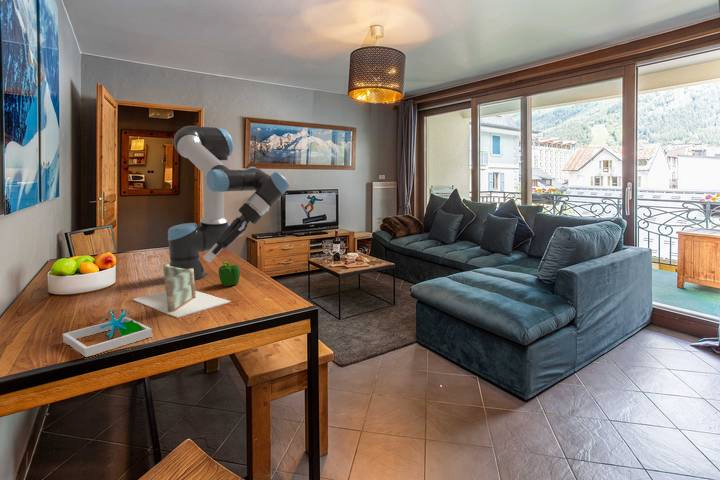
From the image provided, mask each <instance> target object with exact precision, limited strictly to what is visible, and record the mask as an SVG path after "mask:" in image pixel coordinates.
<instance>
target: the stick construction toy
mask: <svg viewBox="0 0 720 480" xmlns="http://www.w3.org/2000/svg"><path fill="white" fill-rule="evenodd" d="M120 311H121V314H120V316H119V318H117V319H118V320H116V317H115V315H114V313H115V312H114V311H112V310H111V311H110V315H111V319H110V318H105V320H106V321H107V322H111V323H110V324H107V325H103V326H100V328H104V327H108V326H113V327H112V330H111V331H108V332H107V334H104V337H109V339H110V338H113V335H114V332H115V330H117V328H118V331H119V334H120V337H122V336H125V335H129V334H132V333H135V332H139V331H141V326H140V325H139V324H138V323H135V322H134V321H135V320H134V319H132V320H131V321H127V322H122V323H121V321H122V318H124V317H126V316H127V315H130V312H128V311H126V312H125V310H124V309H121V310H120ZM133 320H134V321H133ZM108 335H109V336H108Z"/></svg>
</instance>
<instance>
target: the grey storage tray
mask: <svg viewBox="0 0 720 480" xmlns="http://www.w3.org/2000/svg"><path fill="white" fill-rule="evenodd" d="M115 319H116V318H115ZM118 319H119V318H117V319H116V320H118ZM131 320H133V321H134V322H135V323H138V324H139V325H140V326H141V331H139V332H135V333H132V334H129V335H125V336H122V337H121V336H119V337H116V338H113V339H110V340H106V341H103V342H102V341H101V342H99V343H96V344H93V345H89V346H86V345H85V344H84V343H82V342H81V341H79V340H76V339H77V338H81V337H84V336H89V335H92V334H96V333H99V332H103V331H107V332H109V331H108V330H112V327H113V326H108V327H104V328H100V326H103V325H107V324H110V323H111V322H109V321H105V322H102V323H101V322H100V323H98V324H95V325H91V326H87V327H86V326H85V327H83V328H79V329H76V330H72V331H68V332H64V333H62V340H63V343H64V342H66V343H67V344H68V345H70V346H71V347H73V348H74V349H75V350H77V351H78V352H80V353H81V354H82V355H84V356H85V357H87V356H90V355H93V354H96V353H100V352H103V351H106V350H109V349H113V348H116V347H119V346H122V345H126V344H129V343H133V342H136V341H139V340H142V339H145V338H149V337H152V338H153V329H152V328H151V327H150V326H147V325H145V324H143V323H141V322H139V321H137V320H135V319H132V318H130V317H128V316H124V317H123V318H122V321H121V323H122V322H127V321H131ZM149 339H150V338H149ZM133 344H134V343H133Z"/></svg>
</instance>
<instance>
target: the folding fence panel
mask: <svg viewBox="0 0 720 480" xmlns="http://www.w3.org/2000/svg"><path fill="white" fill-rule="evenodd" d="M165 283H166V289H165V291H166V294H167V306H168V311H173V310H175V309H176V308H177V307H179V306H180V305H182V304H183V303H185V302H186V301H188V300H189V299H191V298H192V291H191V279H190V270H186V271H184V272H182V273H180V274H178V275H176V276H174V277H172V278H170V279H167V280H165V279H164V284H165Z"/></svg>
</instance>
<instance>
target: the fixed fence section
mask: <svg viewBox="0 0 720 480" xmlns="http://www.w3.org/2000/svg"><path fill="white" fill-rule="evenodd" d="M169 265H170V263H164V264H163V276H164V277H163V278H164V281H165V280H167V279H170V278H172V277H174V276H176V275H178V274H180V273H182V272H184V271H186V270H190V279H191V291H192V298H196V294H195V291H196V283H195V281H196V280H194V269H193V268H190V269H183V268H178V267H172V266H169ZM164 288H165V290H166V283H165V282H164Z"/></svg>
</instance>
